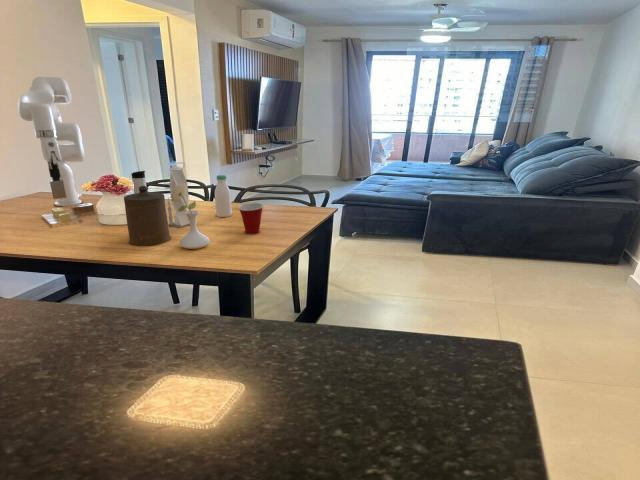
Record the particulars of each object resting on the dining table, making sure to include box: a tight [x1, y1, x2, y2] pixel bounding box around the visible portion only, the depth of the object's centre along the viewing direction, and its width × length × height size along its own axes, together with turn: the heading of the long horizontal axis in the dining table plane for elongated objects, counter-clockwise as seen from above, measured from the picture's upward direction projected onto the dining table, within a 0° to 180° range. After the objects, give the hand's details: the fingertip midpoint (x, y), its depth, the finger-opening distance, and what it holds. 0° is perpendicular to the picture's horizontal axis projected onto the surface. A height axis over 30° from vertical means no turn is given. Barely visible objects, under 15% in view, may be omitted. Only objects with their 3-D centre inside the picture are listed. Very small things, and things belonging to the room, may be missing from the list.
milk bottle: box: [214, 174, 233, 218], centre depth 188 cm, size 8×8×20 cm
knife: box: [49, 165, 67, 200], centre depth 169 cm, size 5×2×15 cm, turn 135°
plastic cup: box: [237, 202, 264, 235], centre depth 164 cm, size 11×11×12 cm
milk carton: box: [167, 161, 190, 229], centre depth 171 cm, size 8×8×28 cm
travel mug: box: [130, 170, 148, 194], centre depth 197 cm, size 6×7×20 cm
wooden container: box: [123, 185, 171, 247], centre depth 151 cm, size 15×15×22 cm
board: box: [41, 210, 82, 225], centre depth 178 cm, size 20×12×2 cm, turn 45°
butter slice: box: [58, 213, 71, 223], centre depth 173 cm, size 2×4×3 cm, turn 135°
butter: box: [51, 207, 66, 218], centre depth 180 cm, size 7×4×3 cm, turn 45°
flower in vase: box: [169, 184, 211, 250], centre depth 143 cm, size 13×11×25 cm
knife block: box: [70, 202, 95, 216], centre depth 186 cm, size 5×9×5 cm, turn 135°
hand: (55, 177), depth 168 cm, fingers closed on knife, 1 cm apart
